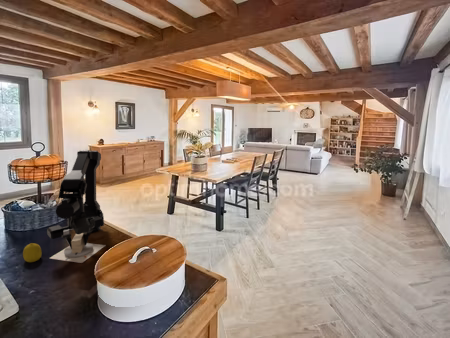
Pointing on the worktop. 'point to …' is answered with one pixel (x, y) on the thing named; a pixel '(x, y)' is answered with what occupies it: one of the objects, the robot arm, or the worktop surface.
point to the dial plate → (81, 258)
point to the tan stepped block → (78, 247)
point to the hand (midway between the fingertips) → (78, 246)
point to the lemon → (32, 252)
